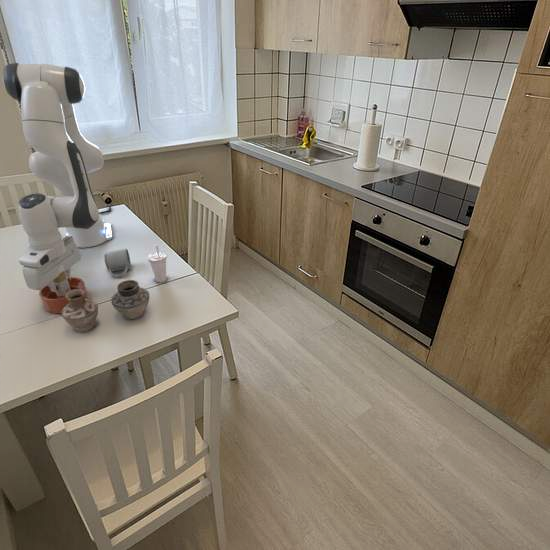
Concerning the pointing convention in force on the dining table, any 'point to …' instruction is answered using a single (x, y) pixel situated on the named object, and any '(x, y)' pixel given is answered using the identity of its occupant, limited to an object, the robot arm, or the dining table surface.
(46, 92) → the robot arm
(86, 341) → the dining table surface
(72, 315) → the pottery
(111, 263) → the ceramic mug
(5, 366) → the dining table surface
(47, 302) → the bowl
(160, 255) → the smoothie
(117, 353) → the dining table surface
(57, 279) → the sprinkles bottle
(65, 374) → the dining table surface
